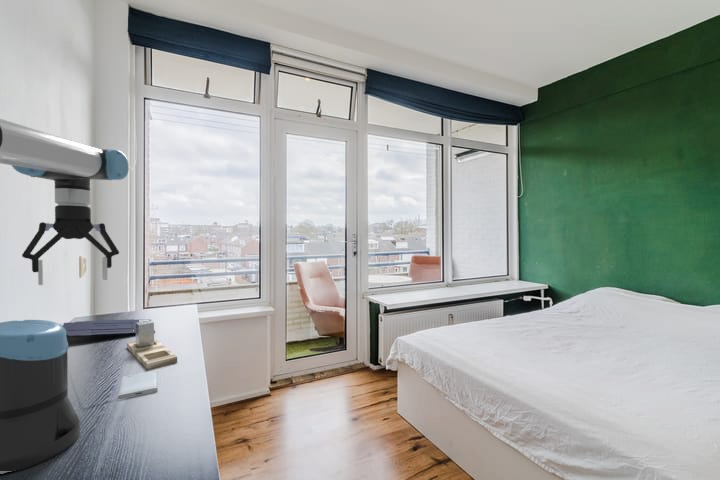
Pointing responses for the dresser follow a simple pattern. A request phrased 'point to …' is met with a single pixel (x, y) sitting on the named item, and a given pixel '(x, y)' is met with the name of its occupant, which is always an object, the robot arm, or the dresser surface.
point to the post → (144, 334)
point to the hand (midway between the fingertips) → (74, 281)
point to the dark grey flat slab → (100, 327)
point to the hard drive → (138, 384)
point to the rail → (152, 354)
